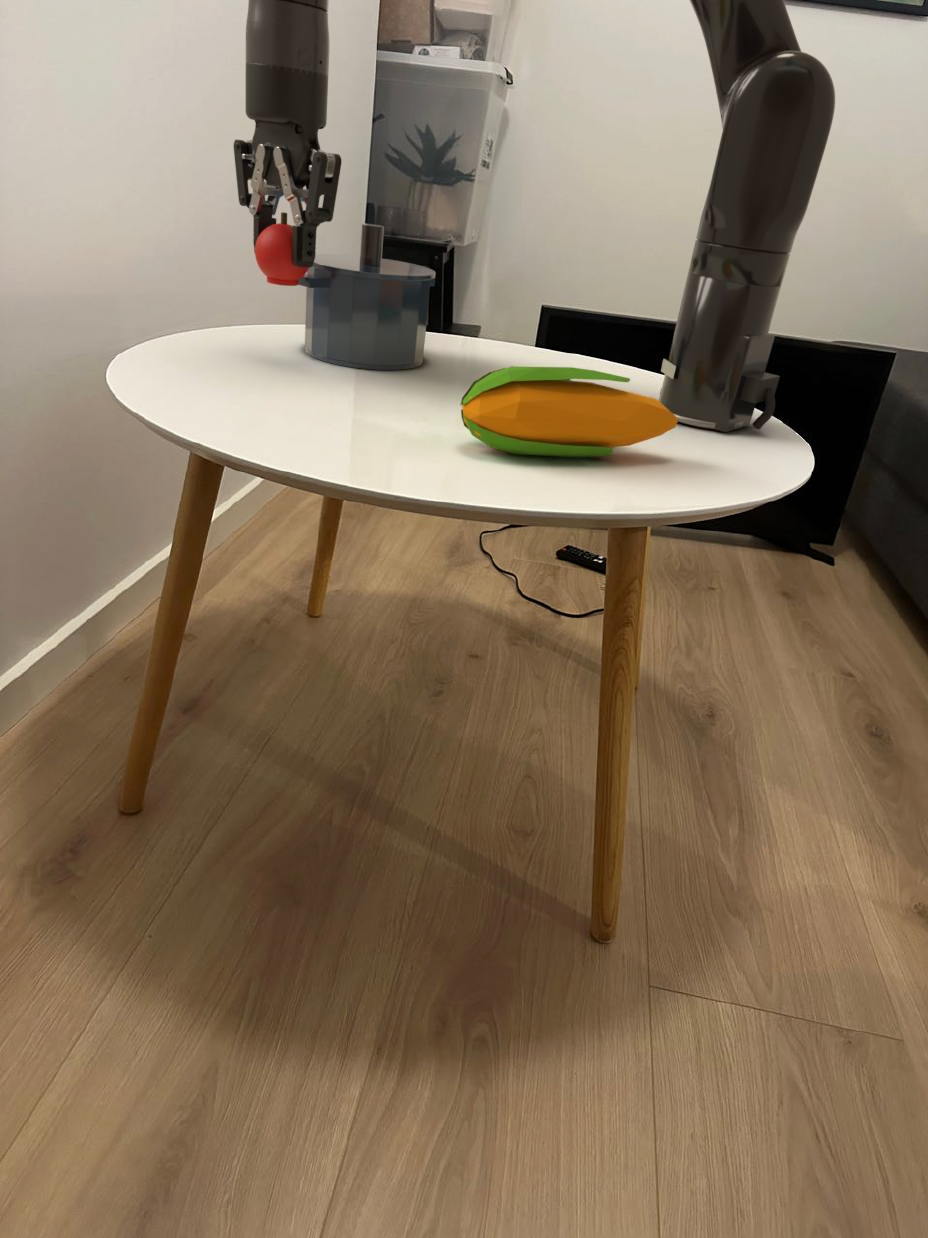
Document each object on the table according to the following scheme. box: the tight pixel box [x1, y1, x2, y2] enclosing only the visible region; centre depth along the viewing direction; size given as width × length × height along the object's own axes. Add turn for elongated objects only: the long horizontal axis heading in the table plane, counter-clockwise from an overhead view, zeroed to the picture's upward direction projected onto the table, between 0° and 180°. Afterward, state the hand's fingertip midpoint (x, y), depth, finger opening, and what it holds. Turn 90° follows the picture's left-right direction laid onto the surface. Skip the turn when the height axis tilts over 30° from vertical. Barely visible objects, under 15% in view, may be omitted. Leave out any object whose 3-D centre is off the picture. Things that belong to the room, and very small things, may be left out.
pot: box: [297, 267, 436, 371], centre depth 98 cm, size 14×19×10 cm
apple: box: [254, 211, 309, 287], centre depth 86 cm, size 6×6×7 cm
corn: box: [459, 365, 679, 458], centre depth 73 cm, size 7×8×20 cm
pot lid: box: [312, 223, 436, 281], centre depth 95 cm, size 15×15×5 cm
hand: (283, 260), depth 87 cm, fingers closed on apple, 5 cm apart
